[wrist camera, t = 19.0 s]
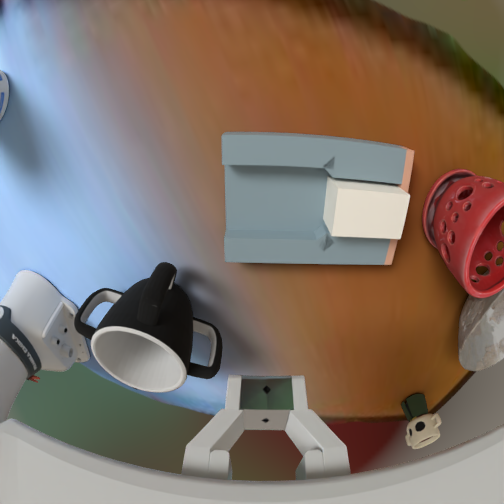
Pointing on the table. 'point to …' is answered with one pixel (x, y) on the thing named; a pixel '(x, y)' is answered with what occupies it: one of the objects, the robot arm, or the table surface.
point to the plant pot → (467, 228)
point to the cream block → (364, 208)
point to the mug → (149, 334)
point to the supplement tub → (3, 93)
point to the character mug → (420, 422)
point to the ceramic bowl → (481, 331)
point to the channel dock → (301, 196)
